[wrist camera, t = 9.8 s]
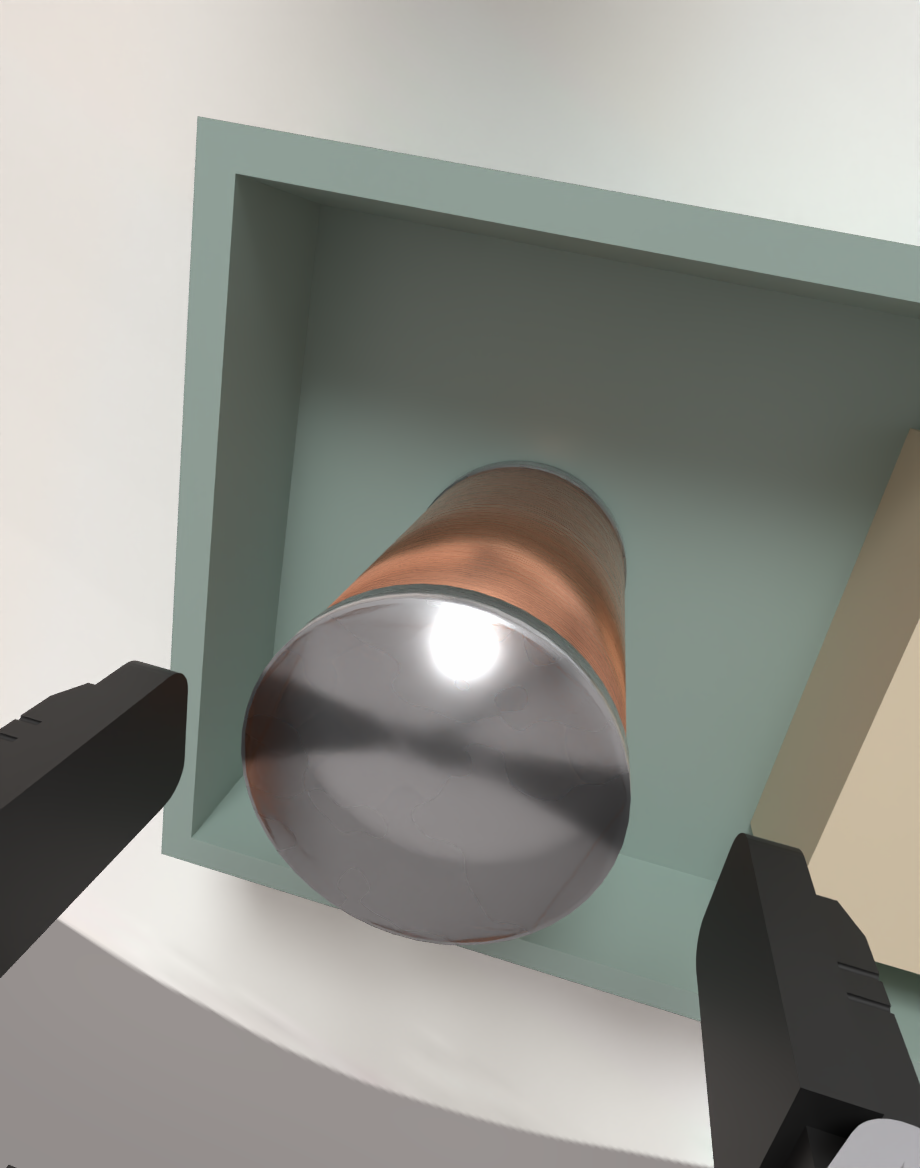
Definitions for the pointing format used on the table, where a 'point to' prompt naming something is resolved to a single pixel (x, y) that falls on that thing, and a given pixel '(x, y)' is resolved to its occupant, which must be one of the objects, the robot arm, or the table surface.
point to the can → (458, 718)
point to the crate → (544, 435)
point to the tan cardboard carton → (863, 738)
